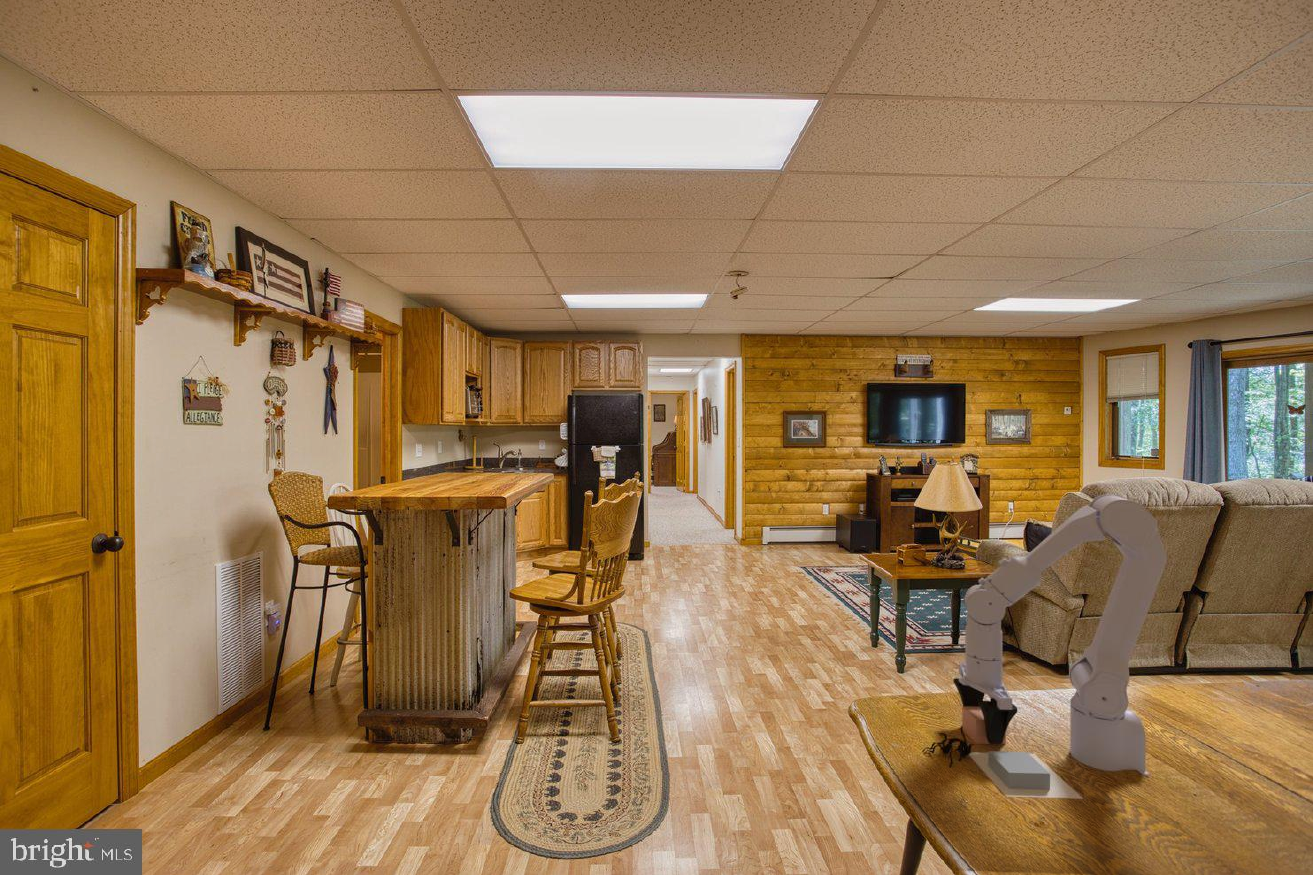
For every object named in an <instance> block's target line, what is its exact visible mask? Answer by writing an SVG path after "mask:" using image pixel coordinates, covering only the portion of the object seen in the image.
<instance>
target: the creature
mask: <svg viewBox="0 0 1313 875" xmlns="http://www.w3.org/2000/svg"><path fill="white" fill-rule="evenodd" d="M962 727H963V726H962V725H960V734H961V736H962V739H961V738H957V737H952V738H948V737H947V734H946V733H944V732H938V733H939V735H940V737H941V738H940V739H941V740H942V741H941V742H940V741H939V742H935V741H934V742H933V743H932V744H931V747H924V749H923V750H922V752H923V755H925V754H926V753H927V752H929V753H931V754H934V753H935V750H936V748H937V747H939V748H940V750H941V751H942V753H943V754H944V755H948V754H949V760H950V763H949V766H948V768H952V766H953V763H954V761H953V758H952V753H956V752H958V753H959V759H958V762H961V760H962V759H963V758H966V757H968V756H969V754H970V753H971V752H972V747H973V746H976V745H975V744H976V743H969V744H968V741H967V739H966V736H965V733H964V730H963V729H962ZM942 737H943V738H944V739H942ZM946 742H948V743H946ZM957 742H959V745H958V746H957V748H956V749H955V750H954V747H953V744H954V743H957ZM945 743H946V744H945ZM926 749H927V750H926ZM925 750H926V751H925ZM924 751H925V752H924Z"/></svg>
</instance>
